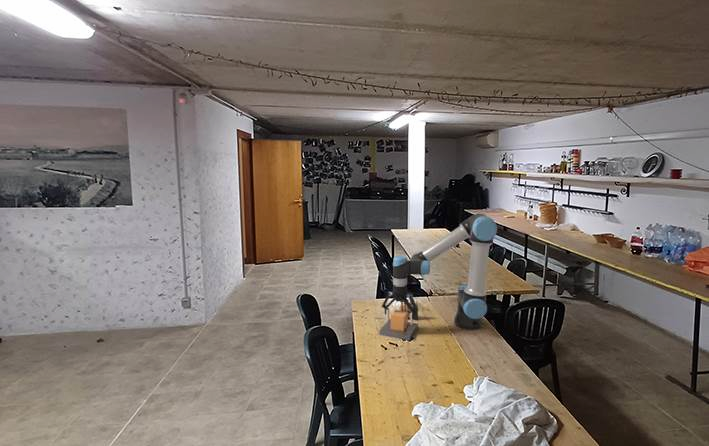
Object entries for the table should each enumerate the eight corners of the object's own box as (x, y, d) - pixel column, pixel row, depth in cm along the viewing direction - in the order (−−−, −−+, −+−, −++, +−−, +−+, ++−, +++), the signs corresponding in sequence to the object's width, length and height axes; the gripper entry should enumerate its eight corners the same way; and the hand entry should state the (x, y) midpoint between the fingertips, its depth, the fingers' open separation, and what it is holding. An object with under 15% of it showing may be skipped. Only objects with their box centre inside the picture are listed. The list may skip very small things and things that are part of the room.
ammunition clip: (418, 319, 233) (418, 300, 231) (417, 320, 231) (418, 301, 229) (400, 317, 236) (400, 298, 234) (399, 318, 235) (400, 299, 233)
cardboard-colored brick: (407, 328, 219) (407, 311, 217) (403, 334, 211) (403, 317, 210) (395, 326, 221) (395, 309, 220) (390, 332, 214) (390, 314, 213)
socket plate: (418, 327, 221) (418, 323, 220) (409, 340, 205) (409, 336, 205) (389, 322, 228) (389, 319, 227) (379, 334, 212) (379, 330, 212)
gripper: (424, 285, 211) (423, 322, 214) (380, 280, 221) (380, 316, 224) (420, 289, 204) (420, 328, 207) (375, 283, 214) (375, 320, 217)
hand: (399, 322), depth 216 cm, fingers open, 13 cm apart
